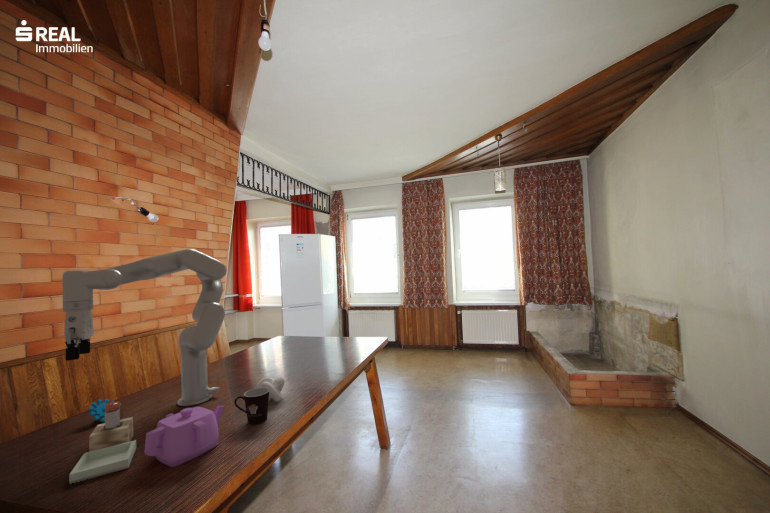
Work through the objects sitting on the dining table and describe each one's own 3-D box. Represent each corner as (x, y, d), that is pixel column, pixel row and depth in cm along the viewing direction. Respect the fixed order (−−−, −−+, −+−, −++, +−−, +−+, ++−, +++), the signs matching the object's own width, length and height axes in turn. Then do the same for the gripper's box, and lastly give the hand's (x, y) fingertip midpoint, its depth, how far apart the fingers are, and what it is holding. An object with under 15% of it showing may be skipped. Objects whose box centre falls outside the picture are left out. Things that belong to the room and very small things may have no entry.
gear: (97, 423, 113) (85, 401, 116) (87, 435, 113) (75, 413, 116) (128, 413, 124) (116, 394, 126) (118, 424, 124) (107, 404, 126)
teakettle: (140, 474, 84) (139, 427, 85) (167, 441, 100) (167, 402, 101) (210, 461, 88) (209, 416, 89) (225, 432, 105) (224, 395, 105)
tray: (136, 448, 97) (136, 439, 97) (128, 468, 87) (128, 458, 87) (84, 461, 91) (84, 452, 91) (69, 484, 81) (69, 474, 81)
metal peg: (121, 441, 102) (120, 400, 103) (118, 446, 99) (118, 404, 100) (106, 444, 100) (106, 403, 101) (103, 449, 97) (103, 407, 98)
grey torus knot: (273, 393, 138) (272, 372, 138) (293, 397, 132) (292, 375, 133) (251, 403, 128) (250, 381, 128) (272, 408, 122) (271, 384, 123)
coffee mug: (275, 416, 114) (274, 389, 115) (256, 428, 106) (256, 398, 107) (252, 412, 119) (251, 385, 120) (232, 422, 111) (232, 394, 112)
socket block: (133, 435, 106) (133, 416, 106) (127, 447, 98) (127, 427, 98) (98, 443, 101) (97, 424, 102) (89, 457, 94) (89, 436, 94)
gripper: (83, 307, 102) (83, 360, 101) (100, 303, 117) (101, 349, 116) (51, 309, 98) (51, 364, 97) (73, 305, 113) (74, 353, 113)
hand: (78, 356), depth 107 cm, fingers open, 9 cm apart
